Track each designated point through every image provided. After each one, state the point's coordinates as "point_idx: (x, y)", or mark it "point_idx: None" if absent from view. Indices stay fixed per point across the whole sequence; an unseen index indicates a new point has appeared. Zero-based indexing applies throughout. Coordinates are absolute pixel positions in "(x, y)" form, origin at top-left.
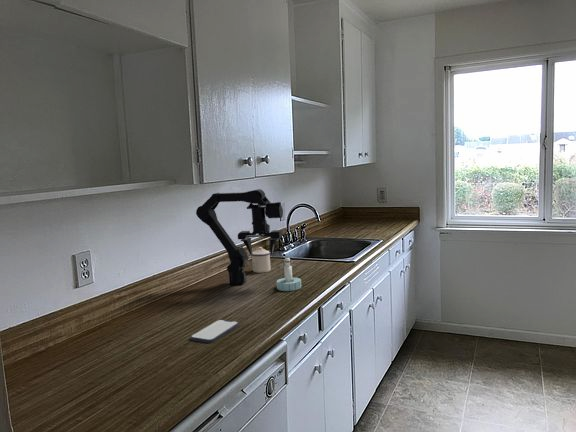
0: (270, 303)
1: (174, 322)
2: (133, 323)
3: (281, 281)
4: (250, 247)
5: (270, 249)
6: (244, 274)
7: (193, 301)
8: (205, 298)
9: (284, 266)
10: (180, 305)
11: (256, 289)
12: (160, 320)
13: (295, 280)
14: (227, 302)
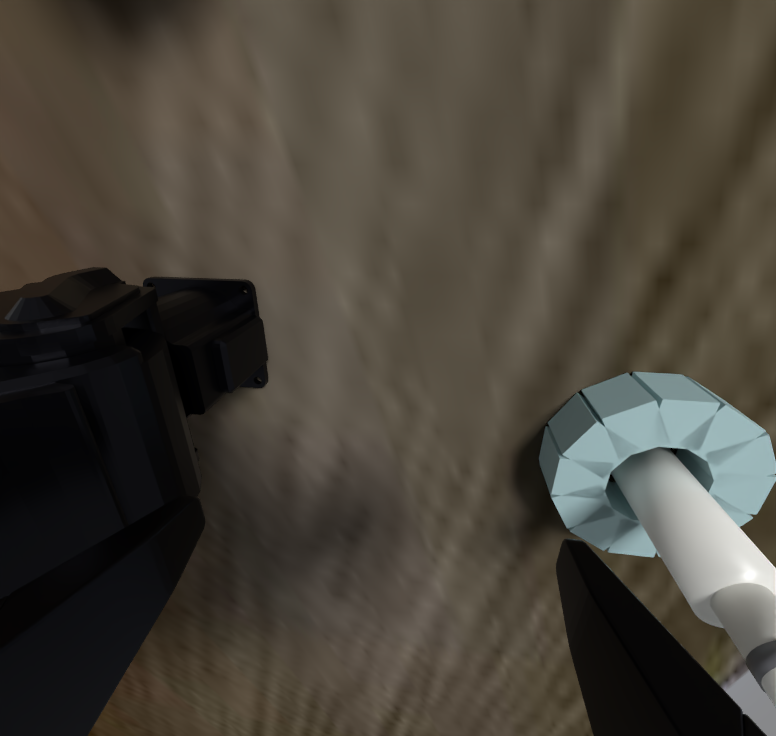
0: (532, 657)
1: (251, 730)
2: (142, 716)
3: (594, 502)
4: (97, 650)
5: (592, 712)
6: (237, 371)
7: (176, 596)
8: (200, 571)
9: (699, 593)
10: (159, 625)
11: (402, 469)
12: (199, 713)
13: (720, 490)
14: (328, 623)
